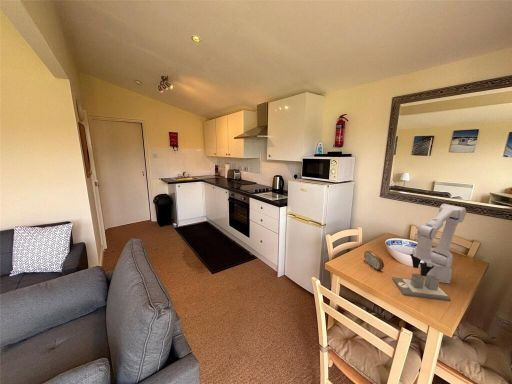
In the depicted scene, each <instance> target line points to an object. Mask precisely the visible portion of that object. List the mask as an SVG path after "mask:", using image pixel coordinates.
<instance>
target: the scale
mask: <svg viewBox="0 0 512 384" xmlns="http://www.w3.org/2000/svg"><path fill="white" fill-rule="evenodd" d="M391 279H392V281H393V283H394V284H395V285H396V287H397V288H398V289H399V291H400V293H401V294H402V295H403V296H407V297H414V298H423V299H431V300H438V301H440V300H441V301H445V302H447V301H448V302H451V297H449V295H448V294H447V293H446V292H444V290H442V288H440V287H439V286H438V290H429V289H428V288H427V287H426V286H425V285H424V284H425V280H424V284H423V289H420V288H414V287H413V286H412V285H411V283H410V282H411V278H404V277H396V276H395V277H392V278H391Z"/></svg>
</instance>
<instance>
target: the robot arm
mask: <svg viewBox="0 0 512 384" xmlns="http://www.w3.org/2000/svg"><path fill="white" fill-rule="evenodd" d="M438 211H439V213H438V214H437V215H436V217H432V218H430V219H429V220H428V221H427V222H426V223H425V224H421V225H419V226H418V228H417V231H416V234H417V236H416V237H417V244H416V249H413V248H412V253H410V257H411V262H412V267H413V269H419V267H420V274H421V276H423V277H426V275H432V276H435V277H436V278H438V279H439V283H444V284H451V277H452V274H453V269H452V267H451V266H452V264H453V260H454V254H453V253H452V252H451V251H450V250H449V249H450V247H451V243H452V241H453V238H454V235H455V232H456V229H457V226H458V224H459V223H463V222H464V221H465V218H466V217H465V216H466V214H467V209H466V208H465V206H463V207H462V206H456V205H452V204H448V203H442V204H441V205H440V206H439V210H438ZM444 222H445V224H444ZM442 227H443V230H442V233H441V235H440V238H439V241H438V244H437V246H436V247H435V246H434V247H432V246H433V241H434V239H435V238H436V237H437V234H438V233H439V231H440V229H441V228H442ZM421 261H422V262H421Z"/></svg>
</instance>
